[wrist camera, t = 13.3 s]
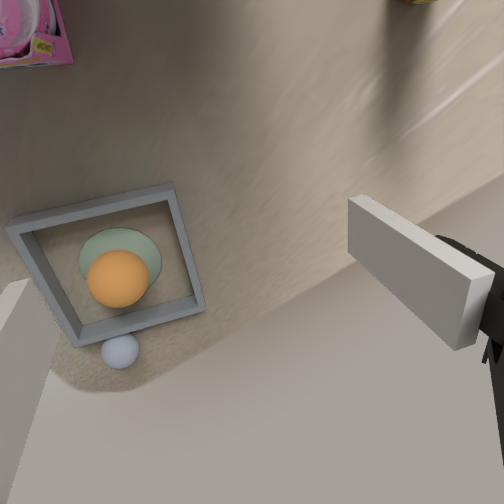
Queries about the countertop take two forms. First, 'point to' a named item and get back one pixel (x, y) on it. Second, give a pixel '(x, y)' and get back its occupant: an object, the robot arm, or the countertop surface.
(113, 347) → the grey ball
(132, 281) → the ball
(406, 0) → the sauce bottle
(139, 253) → the pad
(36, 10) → the gum box
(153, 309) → the corral
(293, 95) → the countertop surface
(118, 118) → the countertop surface
